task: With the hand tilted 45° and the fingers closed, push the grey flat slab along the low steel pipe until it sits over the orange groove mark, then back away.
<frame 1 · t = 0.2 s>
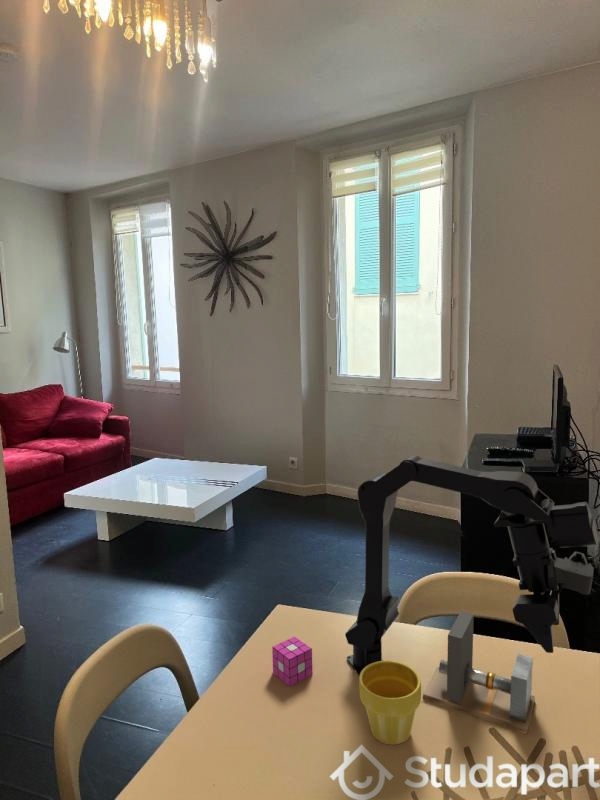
hand: (553, 637, 93), 16 cm above the table, tool pointing down, fingers open, 9 cm apart
grey flat slab: (460, 655, 102), point 8 cm above the table, slide at 0.0 cm
puzzle toy: (292, 674, 110), on the table
clear base plate: (478, 699, 101), on the table
yellow cup: (389, 731, 94), on the table
steel pipe: (483, 676, 100), on the clear base plate, point 5 cm above the table
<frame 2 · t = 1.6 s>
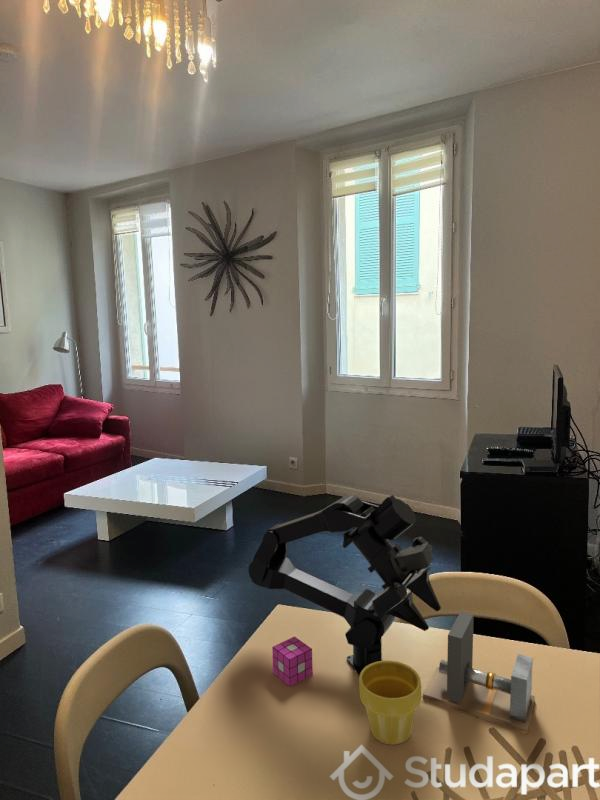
hand: (433, 619, 104), 14 cm above the table, tool tilted 45°, fingers open, 7 cm apart
nothing on the table moved.
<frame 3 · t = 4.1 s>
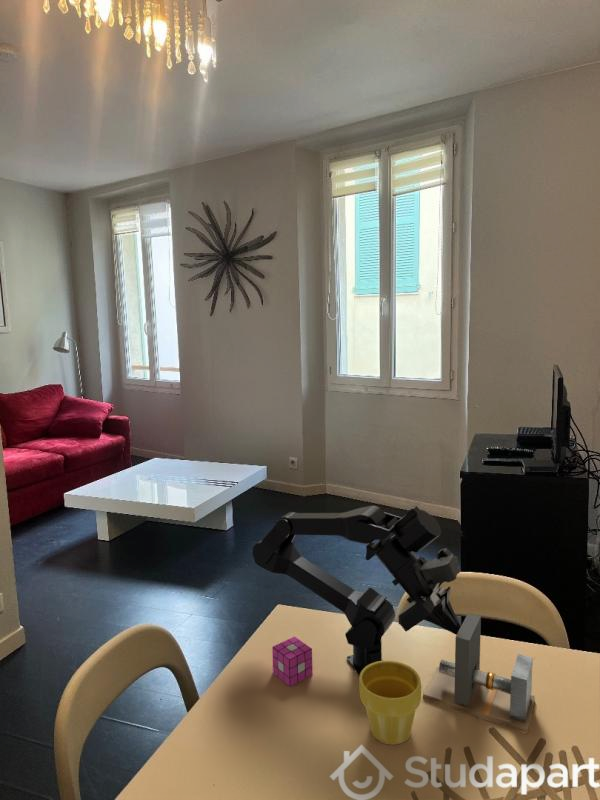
hand: (460, 633, 101), 12 cm above the table, tool tilted 45°, fingers closed, pressing on grey flat slab
grey flat slab: (467, 657, 101), point 8 cm above the table, slide at 1.4 cm, touching gripper
everything else where it was.
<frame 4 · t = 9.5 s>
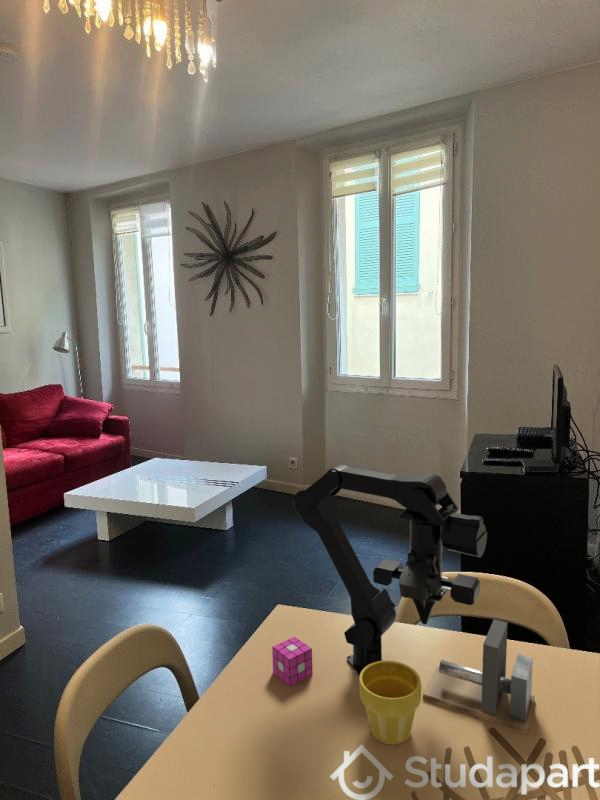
hand: (424, 623, 103), 13 cm above the table, tool pointing down, fingers closed
grey flat slab: (494, 665, 99), point 8 cm above the table, slide at 6.1 cm
everything else where it was.
at the end: grey flat slab slide at 6.1 cm; yellow cup moved 0.2 cm from its start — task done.
